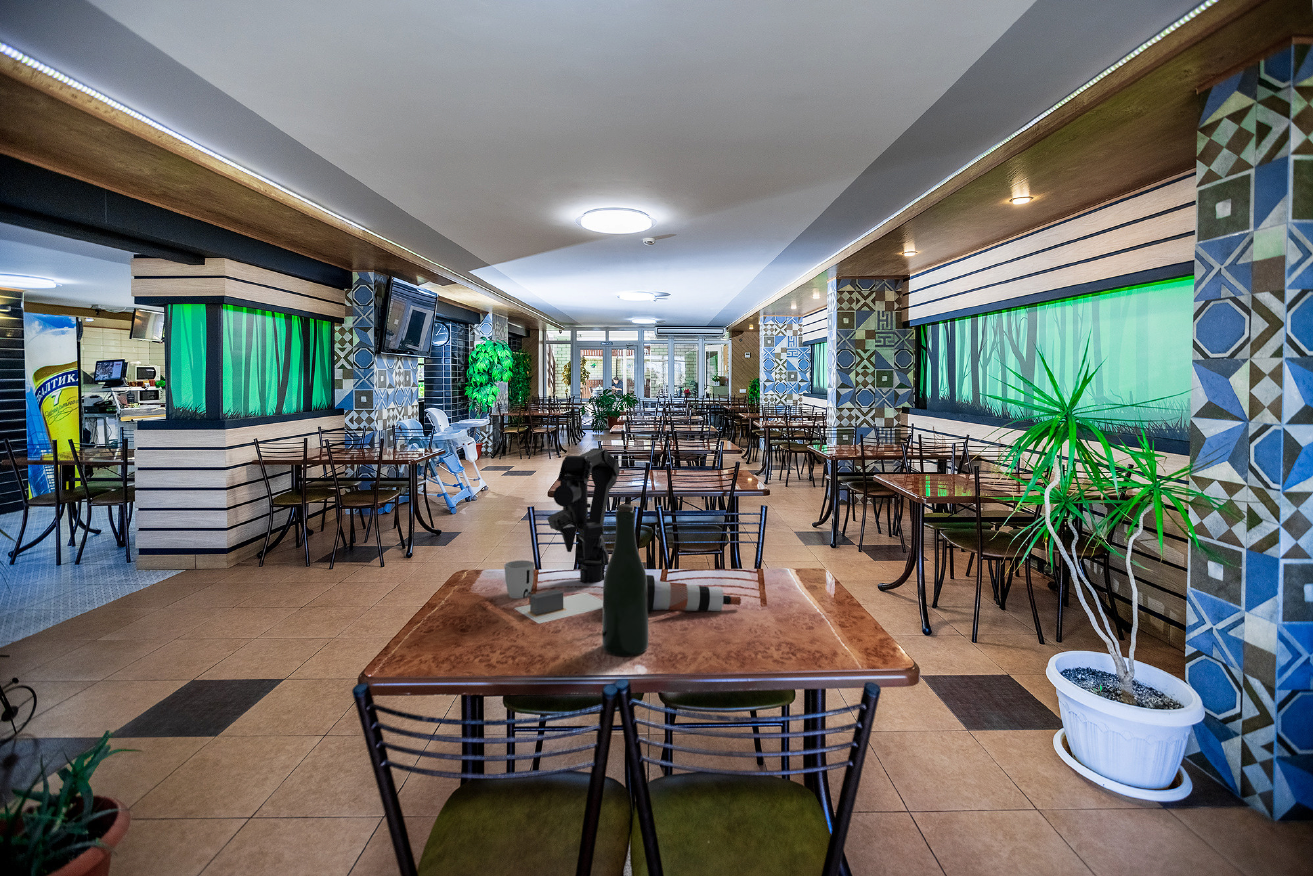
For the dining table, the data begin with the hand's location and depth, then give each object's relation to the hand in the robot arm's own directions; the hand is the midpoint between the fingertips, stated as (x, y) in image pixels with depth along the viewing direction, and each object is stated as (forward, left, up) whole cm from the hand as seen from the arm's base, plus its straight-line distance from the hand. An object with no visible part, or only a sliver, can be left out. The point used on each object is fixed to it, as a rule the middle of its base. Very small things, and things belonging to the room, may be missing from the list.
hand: (577, 555), depth 184 cm
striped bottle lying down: (-15, +26, -12) cm, 32 cm away
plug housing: (+14, +8, -11) cm, 19 cm away
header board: (+9, +8, -12) cm, 17 cm away
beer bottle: (+10, +38, -12) cm, 41 cm away
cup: (+14, -8, -12) cm, 20 cm away
